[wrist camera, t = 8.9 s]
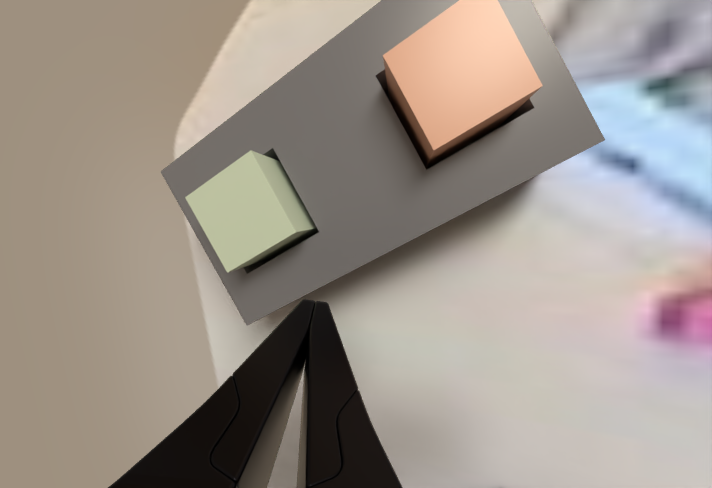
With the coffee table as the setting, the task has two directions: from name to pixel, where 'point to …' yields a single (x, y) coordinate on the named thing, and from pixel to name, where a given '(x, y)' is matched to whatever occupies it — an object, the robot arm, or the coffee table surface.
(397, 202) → the keypad
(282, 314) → the coffee table surface
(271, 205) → the sage key
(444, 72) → the terracotta key
